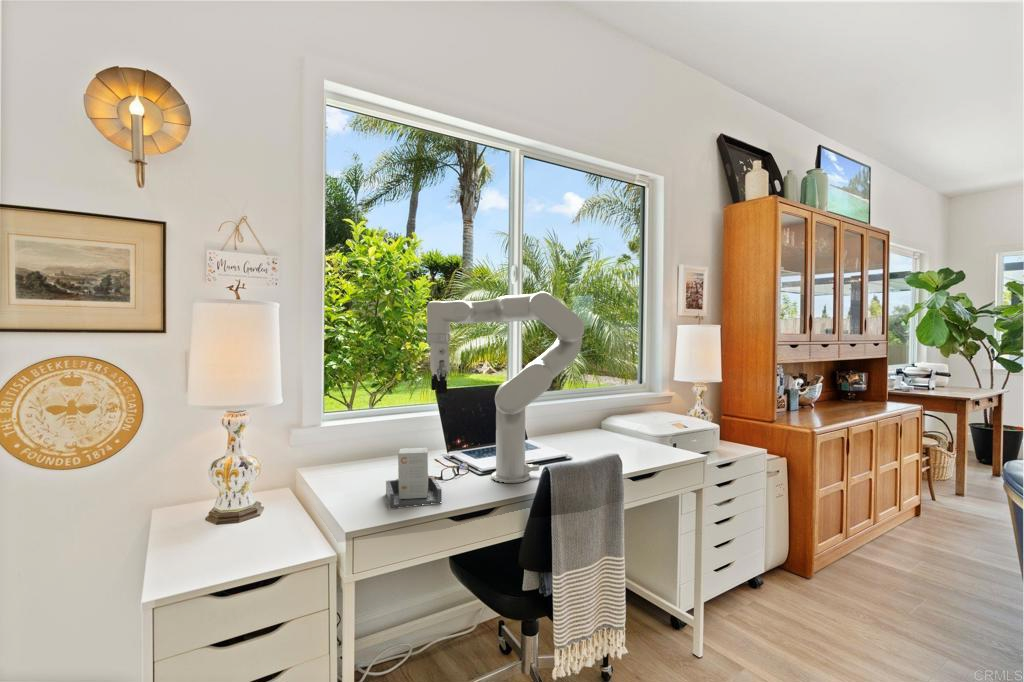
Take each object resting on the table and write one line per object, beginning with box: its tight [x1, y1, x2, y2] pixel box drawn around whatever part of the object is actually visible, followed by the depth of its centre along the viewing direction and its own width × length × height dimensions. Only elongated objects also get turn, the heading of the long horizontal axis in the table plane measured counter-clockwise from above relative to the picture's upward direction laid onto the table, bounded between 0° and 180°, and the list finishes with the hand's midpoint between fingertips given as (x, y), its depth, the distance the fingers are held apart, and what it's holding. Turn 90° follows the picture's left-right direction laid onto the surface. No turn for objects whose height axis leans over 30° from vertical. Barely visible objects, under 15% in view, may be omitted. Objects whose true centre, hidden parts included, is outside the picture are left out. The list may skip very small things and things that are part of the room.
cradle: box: [385, 476, 443, 509], centre depth 145 cm, size 14×13×4 cm
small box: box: [397, 447, 429, 499], centre depth 145 cm, size 8×6×13 cm
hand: (438, 391), depth 166 cm, fingers open, 9 cm apart
